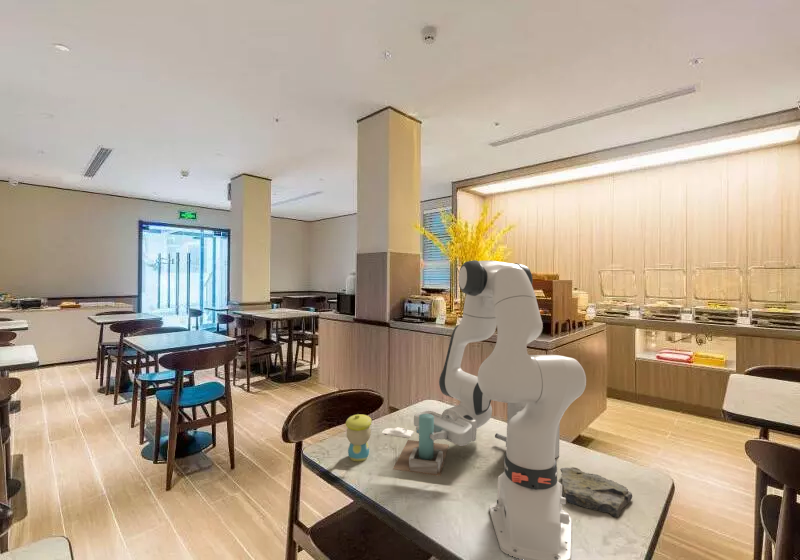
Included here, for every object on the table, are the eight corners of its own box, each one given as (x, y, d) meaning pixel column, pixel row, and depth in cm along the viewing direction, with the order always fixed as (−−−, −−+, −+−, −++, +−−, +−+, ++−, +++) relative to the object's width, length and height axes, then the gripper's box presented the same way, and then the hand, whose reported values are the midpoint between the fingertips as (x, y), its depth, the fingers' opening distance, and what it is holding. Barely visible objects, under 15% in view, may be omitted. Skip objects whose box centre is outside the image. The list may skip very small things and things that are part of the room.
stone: (633, 495, 100) (633, 482, 100) (625, 525, 88) (625, 510, 88) (562, 473, 111) (563, 462, 111) (547, 497, 99) (547, 484, 99)
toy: (373, 455, 120) (373, 409, 120) (368, 470, 111) (368, 420, 111) (349, 454, 121) (349, 408, 121) (342, 469, 112) (342, 419, 112)
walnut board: (440, 481, 106) (440, 465, 106) (392, 474, 109) (392, 458, 109) (448, 449, 125) (449, 435, 125) (408, 444, 129) (408, 431, 128)
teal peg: (432, 460, 109) (432, 420, 109) (417, 458, 110) (417, 418, 110) (434, 453, 114) (434, 414, 113) (420, 451, 115) (420, 413, 114)
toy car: (384, 432, 139) (384, 423, 139) (415, 437, 135) (415, 427, 135) (378, 438, 134) (378, 429, 134) (410, 443, 130) (410, 434, 130)
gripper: (431, 403, 128) (400, 413, 119) (480, 421, 113) (450, 434, 104) (430, 421, 128) (400, 433, 119) (480, 442, 113) (449, 457, 104)
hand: (424, 434), depth 111 cm, fingers closed on teal peg, 4 cm apart
